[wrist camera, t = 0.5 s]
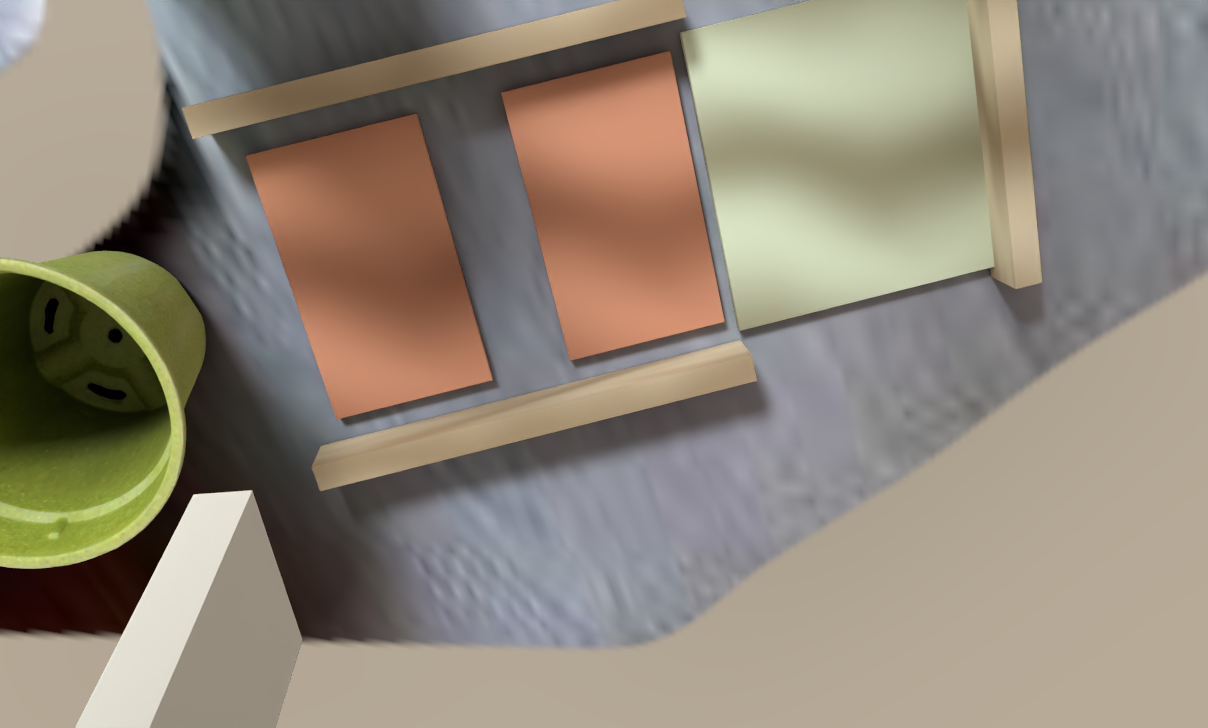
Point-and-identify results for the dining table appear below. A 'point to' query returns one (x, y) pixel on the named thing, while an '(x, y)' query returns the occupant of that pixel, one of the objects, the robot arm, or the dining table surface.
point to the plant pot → (90, 403)
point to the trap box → (649, 202)
